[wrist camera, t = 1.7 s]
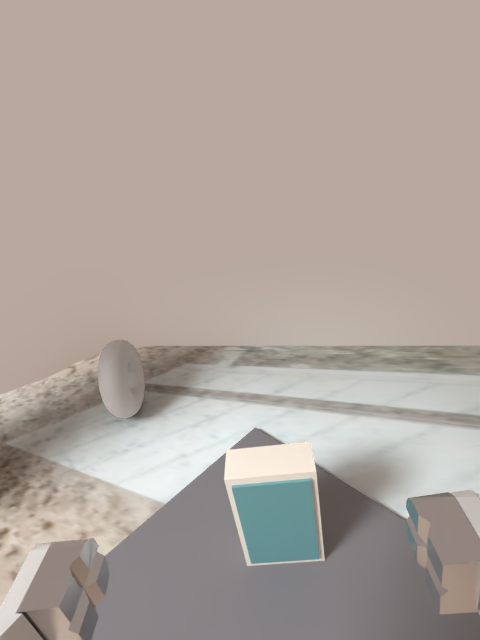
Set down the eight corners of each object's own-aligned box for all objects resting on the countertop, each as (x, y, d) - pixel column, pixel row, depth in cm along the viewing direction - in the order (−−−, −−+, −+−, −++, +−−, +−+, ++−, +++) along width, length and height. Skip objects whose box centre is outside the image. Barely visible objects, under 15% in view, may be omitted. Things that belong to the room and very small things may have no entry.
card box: (247, 568, 28) (223, 482, 24) (247, 534, 31) (226, 449, 26) (325, 563, 28) (316, 474, 23) (319, 528, 30) (310, 441, 26)
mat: (67, 593, 29) (65, 590, 29) (255, 430, 42) (255, 427, 41) (364, 1223, 11) (364, 1227, 11) (542, 610, 24) (543, 606, 23)
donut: (140, 433, 44) (113, 366, 40) (112, 438, 44) (82, 371, 40) (152, 383, 53) (132, 323, 49) (129, 387, 53) (107, 328, 49)
